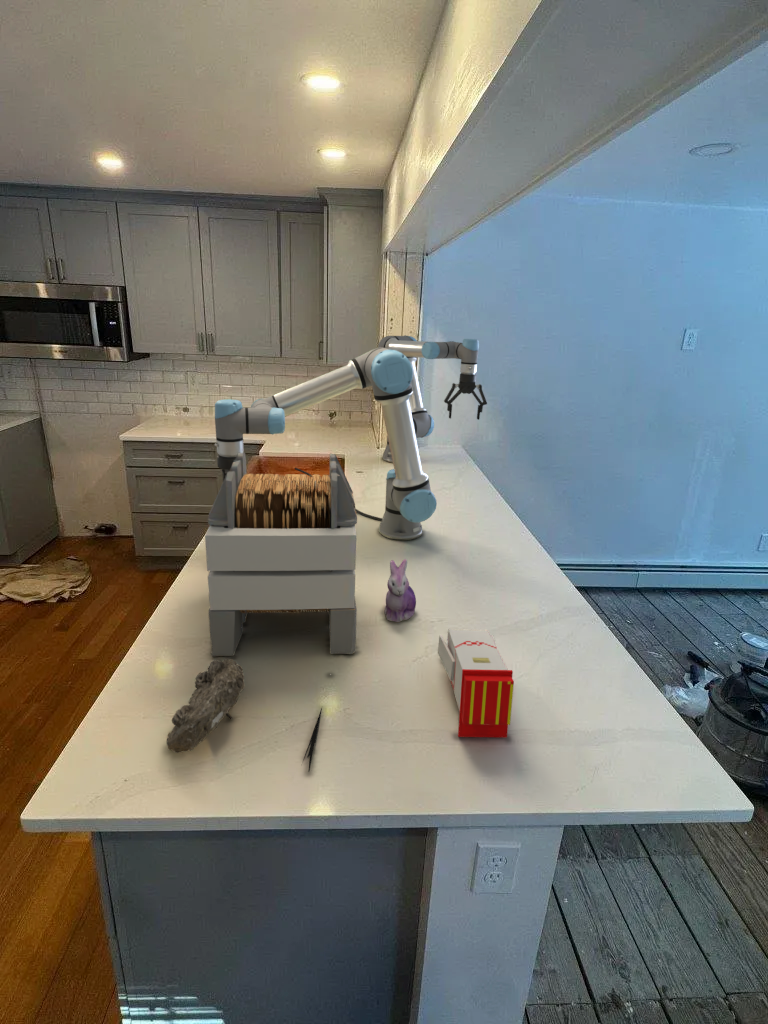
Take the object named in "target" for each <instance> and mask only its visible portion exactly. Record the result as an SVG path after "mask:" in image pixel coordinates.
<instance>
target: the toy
mask: <svg viewBox="0 0 768 1024" xmlns="http://www.w3.org/2000/svg"><path fill="white" fill-rule="evenodd" d="M446 640H447V643H446V641H445V639H444V636H443V635H442V634H439V637H438V646H437V656H438V657H439V659H440V661H441V663H442V666H443V668H444V670H445V672H446V674H447V677H448V679H449V681H450V684H451V687H452V690H453V693H454V697H455V701H456V705H457V708H458V711H459V714H458V715H459V716H458V730H457V731H458V732H457V737H458V738H508V731H509V726H510V725H511V717H512V707H513V697H514V696H513V695H514V684H515V680H514V679H513V673H514V671H513V670H512V669H508V667H507V665H506V662H505V661H504V659H503V658H502V655H501V653H500V651H499V649H498V647H497V643H496V639H495V637H494V635H493V634H491V632H490V631H489V629H467V628H466V629H465V628H463V629H461V628H460V629H459V628H448V630H447V639H446Z"/></svg>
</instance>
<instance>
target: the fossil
mask: <svg viewBox="0 0 768 1024" xmlns="http://www.w3.org/2000/svg"><path fill="white" fill-rule="evenodd" d="M243 670H244V669H243V667H242V665H240V664H237V662H236V661H235V660H234V659H232V658H231V659H227V658H226V659H224V660H223V661H222V660H217V659H212V660H211V661H210V663H209V665H208V666H207V671H201V672H199V673H198V674H197V675H196V676H195V680H194V684H195V685H194V687H195V689H194V690H193V693H192V694H191V697H190V698H189V700H188V704H184V705H182V706H181V707H180V709H177V710H176V711H175V713H174V715H173V716H172V718H171V723H172V724H173V727H172V730H171V731H170V732H168V734H167V738H166V741H167V742H166V745H167V749H168V750H169V751H173V752H174V753H176V754H178V753H182V752H188V751H189V752H192V751H193V750H195V748H196V747H197V746H199V744H200V743H201V742H203V741H204V740H205V739H206V738H207V737H208V736H209V735H210V734H211V733H212V732H214V730H215V729H217V727H218V726H219V724H220V722H221V721H222V720H223V719H224V718H225V716H226V717H227V719H229V720H233V717H232V715H230V714H229V710H230V709H231V708H234V706H235V704H236V703H237V702H238V699H239V697H240V695H241V693H242V691H243V690H245V689H244V688H245V675H244V671H243Z"/></svg>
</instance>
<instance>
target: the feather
mask: <svg viewBox="0 0 768 1024" xmlns="http://www.w3.org/2000/svg"><path fill="white" fill-rule="evenodd" d="M329 675H330V676H331V675H332V674H331V673H330V674H329ZM322 710H323V707H321V708H320V710H319V713H318V716H317V719H316V723H315V725H314V728H313V731H312V733H311V737H310V739H309V742H308V745H307V748H306V751H305V754H304V757H303V760H302V763H301V767H302V765H303V763H304V761H305V758H308V759H309V760H308V762H307V763H308V764H307V766H308V771H310V770H311V766H312V765H311V764H312V760H313V757H315V756H314V755H315V751H316V749H315V746H317V739H318V733H319V729H320V722H321V717H322V712H323V711H322ZM313 754H314V755H313ZM306 755H307V757H306Z"/></svg>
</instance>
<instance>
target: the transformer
mask: <svg viewBox="0 0 768 1024" xmlns="http://www.w3.org/2000/svg"><path fill="white" fill-rule="evenodd" d="M328 469H329V471H328V472H329V474H322V475H321V474H316V473H315V474H312V475H313V477H310V476H308V475H306V474H304V473H297V474H295V473H285V475H284V474H278V473H275V474H273V473H255V474H254V473H248V472H247V458H246V452H243V453H240V452H239V453H238V454H237V457H236V459H235V460H234V462H233V464H232V466H231V468H230V471H229V472H227V474H226V477H225V479H224V481H223V480H222V484H221V485H220V488H219V491H218V492H217V495H216V497H215V499H214V501H213V504H212V506H211V508H210V510H209V512H208V515H207V524H208V528H207V530H206V532H205V534H204V543H205V545H204V546H205V559H206V571H207V572H208V575H207V587H208V602H209V609H208V625H209V636H210V637H209V638H210V647H211V652H210V656H211V657H215V658H216V657H217V658H218V657H219V656H221V657H222V656H224V657H225V656H227V657H234V655H235V652H236V650H237V648H238V645H239V643H240V641H241V638H242V635H243V632H244V631H243V629H244V626H243V624H245V623H246V620H247V615H248V614H267V613H269V614H270V613H271V614H274V613H283V614H285V613H318V612H320V613H321V612H322V613H323V612H326V613H328V623H329V627H328V628H329V631H328V633H329V654H330V655H331V654H333V655H334V654H335V655H337V654H339V655H340V654H342V655H343V654H345V655H353V654H354V653H355V652H356V647H357V646H356V644H357V641H356V640H357V611H358V610H357V602H356V566H357V565H356V563H357V562H356V561H357V530H356V525H357V523H358V515H357V514H358V513H357V512H356V509H357V508H356V503H355V498H354V492H353V489H352V487H351V485H350V483H349V481H348V479H347V476H346V474H345V471H344V470H343V468H342V466H341V464H340V461H339V459H338V457H337V454H336V453H331V452H330V453H329V468H328Z"/></svg>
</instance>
